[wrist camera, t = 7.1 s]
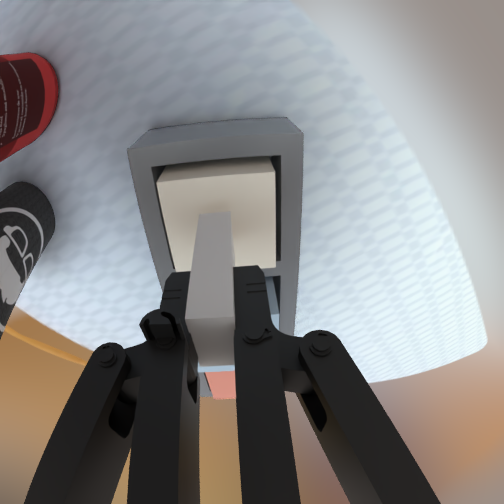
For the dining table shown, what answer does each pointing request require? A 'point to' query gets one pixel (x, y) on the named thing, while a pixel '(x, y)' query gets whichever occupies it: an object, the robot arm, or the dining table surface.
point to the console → (221, 147)
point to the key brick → (222, 384)
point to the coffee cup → (21, 240)
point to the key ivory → (221, 206)
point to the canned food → (25, 100)
